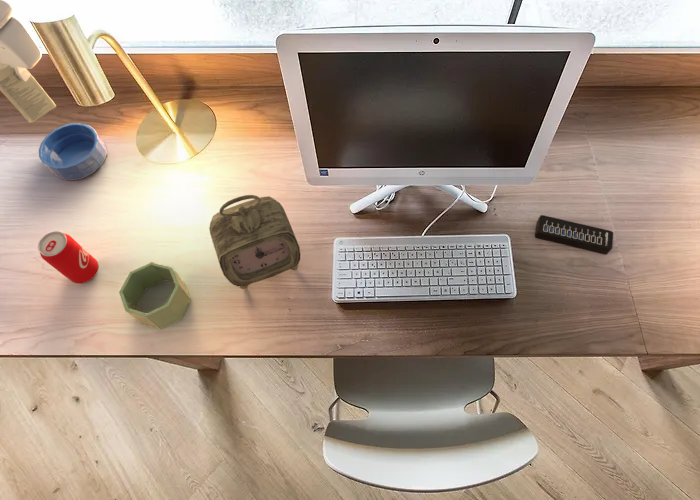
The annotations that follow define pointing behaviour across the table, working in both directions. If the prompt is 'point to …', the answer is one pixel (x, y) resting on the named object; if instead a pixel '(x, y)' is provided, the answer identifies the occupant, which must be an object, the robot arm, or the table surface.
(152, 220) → the table surface
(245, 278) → the tabletop clock
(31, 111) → the cosmetic box
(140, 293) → the green octagonal planter
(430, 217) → the table surface
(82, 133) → the bowl
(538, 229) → the multiport hub
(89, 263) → the beverage can
